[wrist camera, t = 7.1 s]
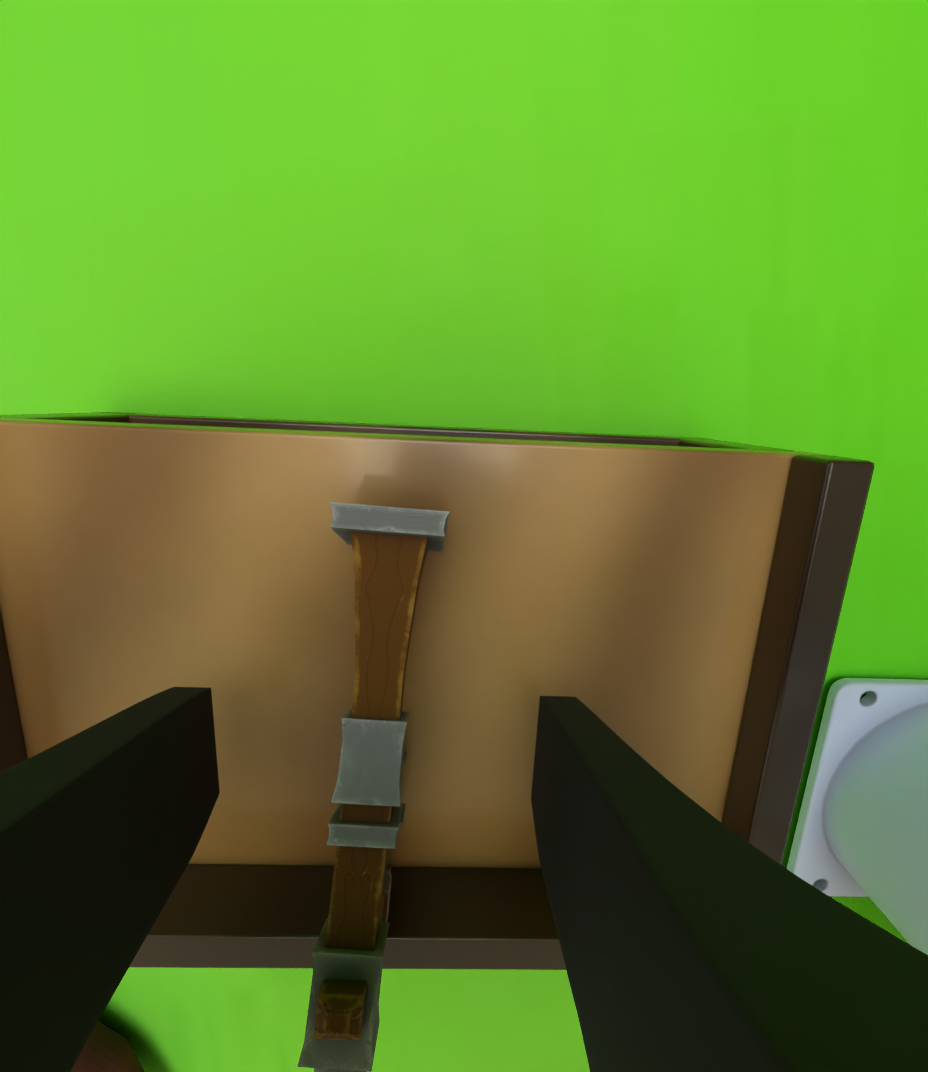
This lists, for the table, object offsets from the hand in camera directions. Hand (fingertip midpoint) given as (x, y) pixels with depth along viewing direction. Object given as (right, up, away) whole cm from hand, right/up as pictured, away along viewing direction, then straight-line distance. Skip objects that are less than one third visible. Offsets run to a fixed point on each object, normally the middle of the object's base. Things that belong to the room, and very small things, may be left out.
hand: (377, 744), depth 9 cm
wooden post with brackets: (0, +1, +2) cm, 2 cm away
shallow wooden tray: (0, +2, +7) cm, 7 cm away
